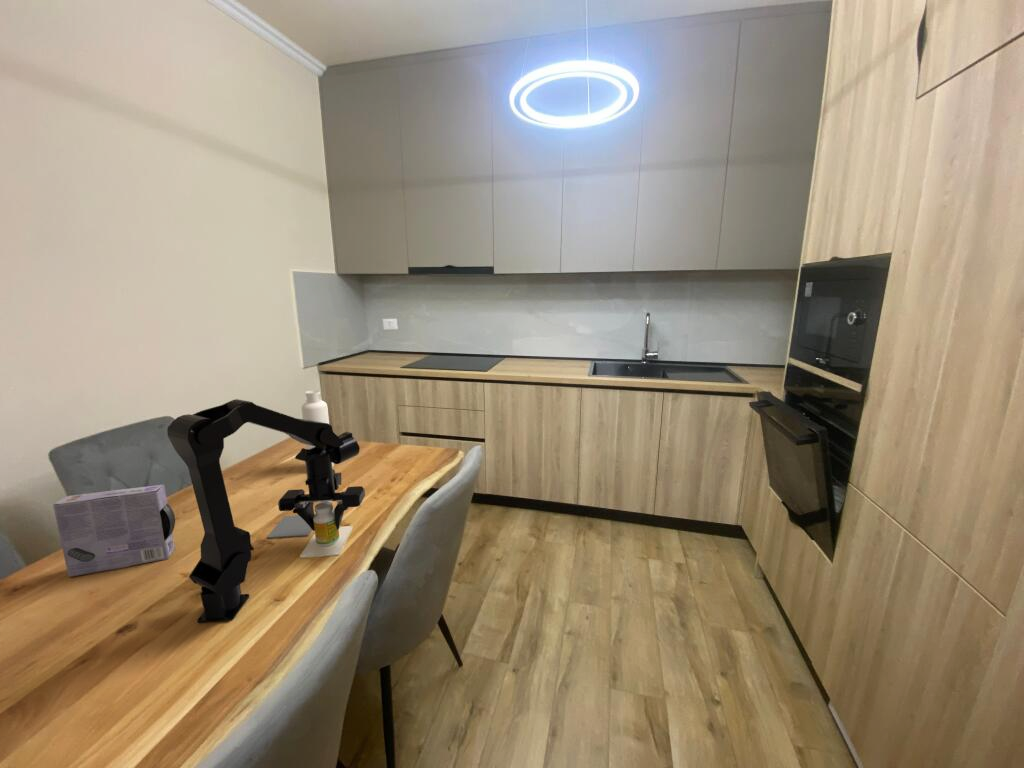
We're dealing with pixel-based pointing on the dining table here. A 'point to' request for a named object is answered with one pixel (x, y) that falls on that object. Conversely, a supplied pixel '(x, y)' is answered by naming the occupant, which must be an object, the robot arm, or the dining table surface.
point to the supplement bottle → (325, 524)
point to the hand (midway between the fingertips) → (326, 529)
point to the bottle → (315, 409)
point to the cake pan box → (115, 529)
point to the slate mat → (290, 528)
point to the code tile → (330, 550)
